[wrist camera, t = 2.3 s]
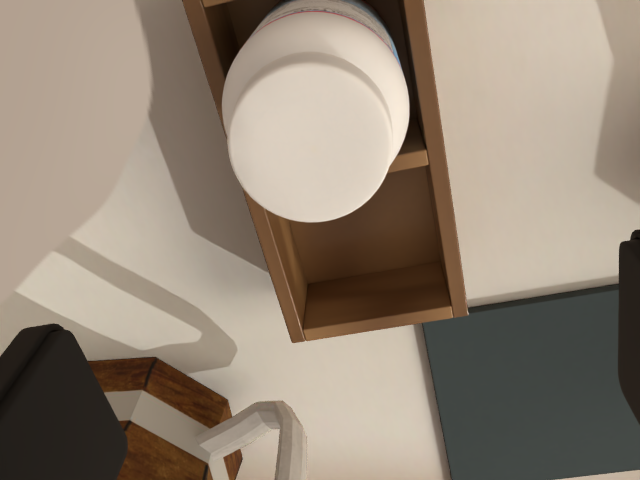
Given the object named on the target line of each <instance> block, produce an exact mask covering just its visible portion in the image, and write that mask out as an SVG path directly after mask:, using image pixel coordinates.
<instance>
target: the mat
mask: <svg viewBox="0 0 640 480" xmlns="http://www.w3.org/2000/svg"><path fill="white" fill-rule="evenodd" d="M618 309H619V284H617V285H611V286H605V287H598V288H592V289H586V290H580V291H573V292H567V293H561V294H555V295H548V296H542V297H536V298H530V299H523V300H517V301H511V302H505V303H498V304H492V305H486V306H480V307H474V308H468V313H469V315H468V316H462V317H456V318H454V317H453V318H449V319H443V320H437V321H430V322H424V323H422V325H423V330H424V336H425V341H426V346H427V351H428V357H429V362H430V367H431V372H432V378H433V383H434V388H435V394H436V399H437V404H438V409H439V415H440V420H441V425H442V430H443V436H444V441H445V446H446V452H447V457H448V462H449V467H450V473H451V478H452V480H555V479H563V478H572V477H581V476H589V475H598V474H607V473H615V472H624V471H632V470H640V425H639V423H638V421H637V419H636V418H635V416H634V414H633V412H632V410H631V408H630V406H629V404H628V402H627V401H626V399H625V397H624V395H623V392H622V390H621V387H620V383H619V378H618Z"/></svg>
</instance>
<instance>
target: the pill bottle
mask: <svg viewBox="0 0 640 480" xmlns="http://www.w3.org/2000/svg"><path fill="white" fill-rule="evenodd" d="M222 116H223V123H224V127H225V131H226V134H227V146H228V154H229V158H230V162H231V165H232V168H233V171H234V173H235V175H236V177H237V179H238V181H239V182H240V184H241V186H242V187H243V188H244V190H245V191H246V192H247V193H248V194H249V196H250V197H251V198H252V199H253V200H254V201H256V202H257V203H258V204H259V205H261V206H262V207H264V208H265V209H267V210H268V211H270V212H272V213H274V214H276V215H278V216H281V217H283V218H286V219H289V220H294V221H300V222H323V221H329V220H333V219H337V218H340V217H342V216H345V215H347V214H349V213H351V212H353V211H355V210H356V209H358V208H359V207H361V206H362V205H363V204H364V203H366V202H367V201H368V200H369V199H370V198H371V197H372V196H373V195H374V193H375V192H376V191H377V190H378V189H379V187H380V185H381V184H382V182H383V180H384V178H385V176H386V174H387V172H388V169H389V166H390V165H391V164H392V162H393V161H394V159H395V157H396V156H397V154H398V152H399V150H400V148H401V146H402V144H403V141H404V139H405V135H406V132H407V128H408V123H409V96H408V89H407V85H406V81H405V78H404V75H403V71H402V68H401V64H400V61H399V58H398V55H397V51H396V48H395V45H394V42H393V38H392V36H391V34H390V30H389V29H388V27H387V25H386V23H385V22H384V20H383V19H382V17H381V16H380V15H379V13H378V12H377V11H376V10H375V9H374V8H373V7H372V6H370V5H369V4H368V3H367V2H365V1H364V0H281V1H280V2H279V3H278V4H277V5H275V6H274V7H273V8H272V9H271V10H270V12H269V13H268V14H267V15H266V17H265V18H264V19H263V20H262V22H261V23H260V24H259V26H258V27H257V28H256V30H255V31H254V32H253V33H252V35H251V36H250V37H249V39H248V40H247V41H246V43H245V44H244V45H243V47H242V48H241V50H240V51H239V53H238V54H237V56H236V58H235V59H234V61H233V63H232V65H231V67H230V69H229V72H228V74H227V77H226V81H225V84H224V90H223V96H222Z"/></svg>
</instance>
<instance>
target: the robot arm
mask: <svg viewBox="0 0 640 480" xmlns="http://www.w3.org/2000/svg"><path fill="white" fill-rule="evenodd" d="M618 378H619V383H620V387H621V390H622V392H623V395H624V397H625V399H626V401H627V402H628V404H629V406H630V408H631V410H632V412H633V414H634V416H635V418H636V419H637V421H638V423H639V425H640V230H635V231H634V232H632V235H631V239H630V241H623V242H622V243H621V244H620V247H619V309H618ZM127 450H128V441H127V436H126V434H125V432H124V430H123V428H122V426H121V424H120V422H119V420H118V418H117V417H116V415H115V413H114V411H113V409H112V407H111V405H110V403H109V401H108V399H107V398H106V396H105V394H104V392H103V390H102V388H101V386H100V384H99V382H98V380H97V379H96V377H95V375H94V373H93V371H92V369H91V367H90V365H89V363H88V361H87V359H86V358H85V356H84V354H83V352H82V350H81V348H80V346H79V344H78V342H77V340H76V339H75V337H74V335H73V334H72V333H71V332H70V331H69V330H64V329H63V327H61V326H60V325H59V324H48V325H42V326H36V327H29V328H25V329H23V330H21V331H20V332H19V333H18V335H17V336H16V337H15V338H14V340H13V341H12V342H11V344H10V345H9V346H8V347H7V349H6V350H5V351H4V353H3V354H2V355H1V356H0V480H117V477H118V475H119V472H120V470H121V468H122V465H123V463H124V460H125V458H126V455H127Z"/></svg>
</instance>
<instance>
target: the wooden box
mask: <svg viewBox="0 0 640 480" xmlns="http://www.w3.org/2000/svg"><path fill="white" fill-rule="evenodd" d="M280 1H281V0H182V2H183V5H184V8H185V11H186V14H187V17H188V20H189V23H190V26H191V30H192V33H193V36H194V39H195V42H196V45H197V48H198V51H199V55H200V58H201V61H202V64H203V67H204V70H205V73H206V76H207V79H208V83H209V86H210V89H211V92H212V95H213V98H214V101H215V104H216V108H217V111H218V114H219V117H220V120H221V123H222V126H223V129H224V132H225V136H226V139H227V134H226V131H225V127H224V123H223V116H222V96H223V90H224V84H225V81H226V77H227V74H228V72H229V69H230V67H231V65H232V63H233V61H234V59H235V58H236V56H237V54H238V53H239V51H240V50H241V48H242V47H243V45H244V44H245V43H246V41H247V40H248V39H249V37H250V36H251V35H252V33H253V32H254V31H255V30H256V28H257V27H258V26H259V24H260V23H261V22H262V20H263V19H264V18H265V17H266V15H267V14H268V13H269V12H270V10H271V9H272V8H273V7H274V6H275V5H277V4H278V3H279V2H280ZM364 1H365V2H367V3H368V4H369V5H370V6H372V7H373V8H374V9H375V10H376V11H377V12H378V13H379V15H380V16H381V17H382V19H383V20H384V22H385V23H386V25H387V27H388V29H389V30H390V34H391V36H392V38H393V42H394V45H395V48H396V51H397V55H398V58H399V61H400V64H401V68H402V71H403V75H404V78H405V81H406V85H407V89H408V96H409V123H408V128H407V132H406V135H405V139H404V141H403V144H402V146H401V148H400V150H399V152H398V154H397V156H396V157H395V159H394V161H393V162H392V164H391V165H390V166H389V169H388V172H387V174H386V176H385V178H384V180H383V182H382V184H381V185H380V187H379V189H378V190H377V191H376V192H375V193H374V195H373V196H372V197H371V198H370V199H369V200H368V201H367V202H366V203H364V204H363V205H362V206H361V207H359V208H358V209H356V210H355V211H353V212H351V213H349V214H347V215H345V216H342V217H340V218H337V219H333V220H329V221H323V222H300V221H294V220H289V219H286V218H283V217H281V216H278V215H276V214H274V213H272V212H270V211H268V210H267V209H265V208H264V207H262V206H261V205H259V204H258V203H257V202H256V201H254V200H253V199H252V198H251V197H250V196H249V194H248V193H247V192H246V191H245V190H244V188H243V187H242V189H243V192H244V195H245V198H246V201H247V204H248V207H249V210H250V214H251V217H252V220H253V223H254V226H255V229H256V232H257V235H258V238H259V242H260V245H261V248H262V251H263V254H264V257H265V260H266V263H267V267H268V270H269V273H270V276H271V279H272V282H273V285H274V288H275V291H276V295H277V298H278V301H279V304H280V307H281V310H282V313H283V316H284V320H285V323H286V326H287V329H288V332H289V335H290V338H291V341H292V343H297V342H303V341H305V340H306V341H310V340H317V339H323V338H329V337H336V336H342V335H348V334H355V333H361V332H367V331H374V330H380V329H386V328H393V327H399V326H405V325H412V324H418V323H424V322H430V321H437V320H443V319H449V318H453V317H454V318H456V317H462V316H468V315H469V313H468V307H467V300H466V293H465V286H464V279H463V272H462V265H461V258H460V251H459V244H458V237H457V230H456V223H455V216H454V209H453V202H452V195H451V188H450V181H449V174H448V167H447V160H446V153H445V146H444V139H443V132H442V126H441V119H440V112H439V105H438V98H437V91H436V84H435V77H434V70H433V63H432V56H431V49H430V42H429V35H428V28H427V21H426V14H425V7H424V0H364Z"/></svg>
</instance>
